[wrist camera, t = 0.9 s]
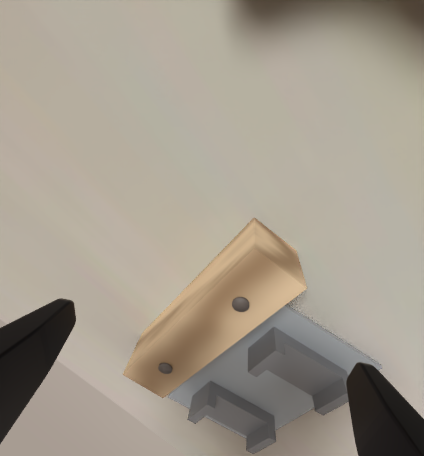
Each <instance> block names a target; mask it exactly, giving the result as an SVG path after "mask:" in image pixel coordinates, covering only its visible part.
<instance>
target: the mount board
mask: <svg viewBox="0 0 424 456" xmlns="http://www.w3.org/2000/svg"><path fill="white" fill-rule="evenodd" d="M358 362H363V363H367V364H371V365H373V366H374V367H375V368H376V369H377V370H380V369H382V366H381V364H379V363H377V362H376V361H374V360H373V359H371V358H370V357H368V356H366V355H365V354H363V353H362V352H360V351H359V350H357V349H355V348H354V347H352V346H351V345H349V344H348V343H346V342H344V341H343V340H341V339H340V338H338V337H337V336H335V335H333V334H332V333H330V332H329V331H327V330H325V329H324V328H322V327H321V326H319V325H318V324H316V323H314V322H313V321H311V320H310V319H308V318H307V317H305V316H303V315H302V314H300V313H299V312H297V311H296V310H294V309H292V308H291V307H289V306H288V305H285V306H283V307H282V308H281V309H279V310H278V311H277V312H275V313H274V314H273V315H272V316H270V317H269V318H268V319H266V320H265V321H264V322H262V323H261V324H260V325H258V326H257V327H256V328H254V329H253V330H252V331H251V332H249V333H248V334H247V335H245V336H244V337H243V338H241V339H240V340H239V341H237V342H236V343H235V344H233V345H232V346H231V347H230V348H228V349H227V350H226V351H224V352H223V353H222V354H220V355H219V356H218V357H216V358H215V359H214V360H212V361H211V362H210V363H209V364H207V365H206V366H205V367H203V368H202V369H201V370H199V371H198V372H197V373H195V374H194V375H193V376H191V377H190V378H189V379H188V380H186V381H185V382H184V383H182V384H181V385H180V386H178V387H177V388H176V389H174V390H173V391H172V392H171V393H170V394H169V396H168V398H170V399H172V400H174V401H176V402H178V403H180V404H181V405H183V406H185V407H187V408H189V409H190V410H189V415H188V420H189V421H191V422H193V423H195V424H196V423H197V422H198V421H199V420H201V419H202V418H203V417H206V418H208V419H210V420H212V421H214V422H215V423H217V424H219V425H221V426H223V427H225V428H227V429H229V430H231V431H233V432H234V433H236V434H238V435H240V436H242V437H244V438H246V439H247V446H246V451H248V452H250V453H252V454H255V453H256V452H258V451H260V450H262V449H264V448H266V447H267V446H269V445H271V444H273V443H275V442H276V433H275V430H277V429H279V428H280V427H282V426H284V425H286V424H287V423H289V422H291V421H293V420H294V419H296V418H298V417H299V416H301V415H303V414H305V413H306V412H308V411H310V410H311V409H313V408H315V411H316V412H318V413H319V414H321V415H325V414H327V413H329V412H331V411H333V410H334V409H336V408H338V407H340V406H342V405H343V404H345V403H347V402H349V400H348V394H347V387H346V381H347V377H348V376H349V374H350V372H351V371H352V369H353V368H354V366H355V364H356V363H358Z"/></svg>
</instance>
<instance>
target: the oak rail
mask: <svg viewBox="0 0 424 456" xmlns="http://www.w3.org/2000/svg"><path fill="white" fill-rule="evenodd" d="M306 289H307V286H306V283H305V279H304V276H303V272H302V269H301V265H300V262H299V258H298V255H297V251H296V250H295V249H294V248H292V247H291V246H290V245H288V244H287V243H286V242H285V241H283V240H282V239H281V238H280V237H278V236H277V235H276V234H275V233H273V232H272V231H271V230H269V229H268V228H267V227H266V226H264V225H263V224H262V223H261V222H259V221H258V220H257V219H256V218H253V219H252V220H251V221H250V222H249V223H248V224H247V225H246V226H245V228H244V229H243V230H242V231H241V232H240V233H239V234H238V235H237V236H236V237H235V238H234V239H233V240H232V241H231V242H230V243H229V244H228V245H227V246H226V247H225V248H224V249H223V250H222V251H221V252H220V253H219V254H218V255H217V256H216V257H215V259H214V260H213V261H212V262H211V263H210V264H209V265H208V266H207V267H206V268H205V269H204V270H203V271H202V272H201V273H200V274H199V275H198V276H197V277H196V278H195V279H194V280H193V281H192V282H191V283H190V284H189V285H188V286H187V287H186V288H185V289H184V291H183V292H182V293H181V294H180V295H179V296H178V297H177V298H176V299H175V300H174V301H173V302H172V303H171V304H170V305H169V306H168V307H167V308H166V309H165V310H164V311H163V312H162V313H161V314H160V315H159V316H158V317H157V318H156V319H155V320H154V322H153V323H152V324H151V325H150V326H149V327H148V328H147V329H146V330H145V331H144V332H143V333H142V335H141V337H140V339H139V341H138V343H137V345H136V347H135V349H134V352H133V354H132V356H131V358H130V360H129V362H128V364H127V366H126V369H125V371H124V373H123V375H124V376H126V377H128V378H129V379H131V380H133V381H135V382H136V383H138V384H140V385H141V386H143V387H145V388H146V389H148V390H150V391H152V392H153V393H155V394H157V395H158V396H160V397H162V398H164V397H165V396H166V395H168V394H169V393H170V392H172V391H173V390H174V389H176V388H177V387H178V386H180V385H181V384H182V383H184V382H185V381H186V380H188V379H189V378H190V377H191V376H193V375H194V374H195V373H197V372H198V371H199V370H201V369H202V368H203V367H205V366H206V365H207V364H209V363H210V362H211V361H212V360H214V359H215V358H216V357H218V356H219V355H220V354H222V353H223V352H224V351H226V350H227V349H228V348H230V347H231V346H232V345H233V344H235V343H236V342H237V341H239V340H240V339H241V338H243V337H244V336H245V335H247V334H248V333H249V332H251V331H252V330H253V329H254V328H256V327H257V326H258V325H260V324H261V323H262V322H264V321H265V320H266V319H268V318H269V317H270V316H272V315H273V314H274V313H275V312H277V311H278V310H279V309H281V308H282V307H283V306H285V305H286V304H287V303H289V302H290V301H291V300H293V299H294V298H295V297H296V296H298V295H299V294H300V293H302V292H303V291H304V290H306Z"/></svg>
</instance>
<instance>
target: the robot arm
mask: <svg viewBox="0 0 424 456" xmlns="http://www.w3.org/2000/svg"><path fill="white" fill-rule="evenodd" d="M75 322H76V316H75V308H74V303H73V301H71V300H67V299H62V298H61V299H57V300H55V301H53V302H51V303H49V304H47V305H45V306H43V307H41V308H39V309H37V310H35V311H33V312H31V313H29V314H27V315H25V316H23V317H21V318H19V319H17V320H15V321H13V322H11V323H9V324H7V325H6V326H3V327H1V328H0V444H1V442H2V441H3V439H4V438H5V436H6V435H7V433H8V432H9V430H10V429H11V427H12V426H13V424H14V423H15V421H16V420H17V418H18V417H19V416H20V414H21V412H22V411H23V410H24V408H25V407H26V405H27V404H28V402H29V401H30V399H31V398H32V396H33V395H34V393H35V392H36V390H37V389H38V387H39V386H40V385H41V383H42V382H43V380H44V379H45V377H46V375H47V374H48V372H49V371H50V369H51V367H52V365H53V364H54V362H55V360H56V358H57V356H58V355H59V353H60V351H61V349H62V347H63V345H64V344H65V342H66V340H67V338H68V336H69V335H70V333H71V331H72V329H73V327H74V325H75ZM346 387H347V394H348V400H349V406H350V413H351V419H352V425H353V432H354V437H355V443H356V447H357V451H358V456H424V419H423V418H422V417H421V416H420V415H419V414H418V412H417V411H416V410H415V409H414V408H413V407H412V406H411V405H410V404H409V403H408V402H407V401H406V400H405V399H404V397H403V396H402V395H401V394H400V393H399V392H398V391H397V390H396V389H395V388H394V387H393V386H392V385H391V384H390V382H389V381H388V380H387V379H386V378H385V377H384V376H383V375H382V374H381V373H380V372H379V371H378V370H377V369H376V368H375V367H374V366H373V365H371V364H367V363H363V362H358V363H356V364H355V366H354V368H353V369H352V371H351V372H350V374H349V376H348V377H347V381H346Z"/></svg>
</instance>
